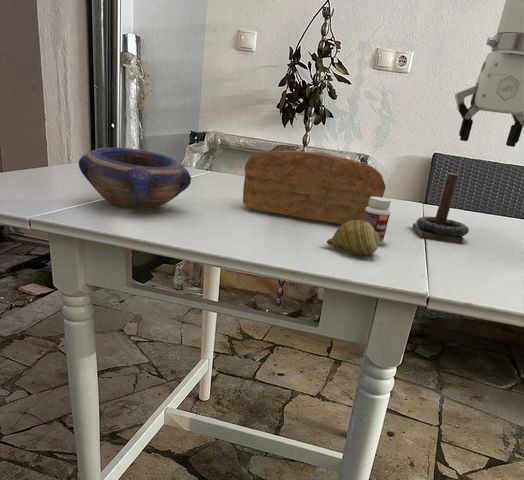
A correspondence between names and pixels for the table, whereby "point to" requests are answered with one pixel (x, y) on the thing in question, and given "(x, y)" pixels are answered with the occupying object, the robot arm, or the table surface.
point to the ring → (442, 227)
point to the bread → (310, 185)
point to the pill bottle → (378, 215)
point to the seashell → (356, 238)
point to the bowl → (134, 177)
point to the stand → (442, 211)
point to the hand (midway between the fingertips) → (486, 143)
